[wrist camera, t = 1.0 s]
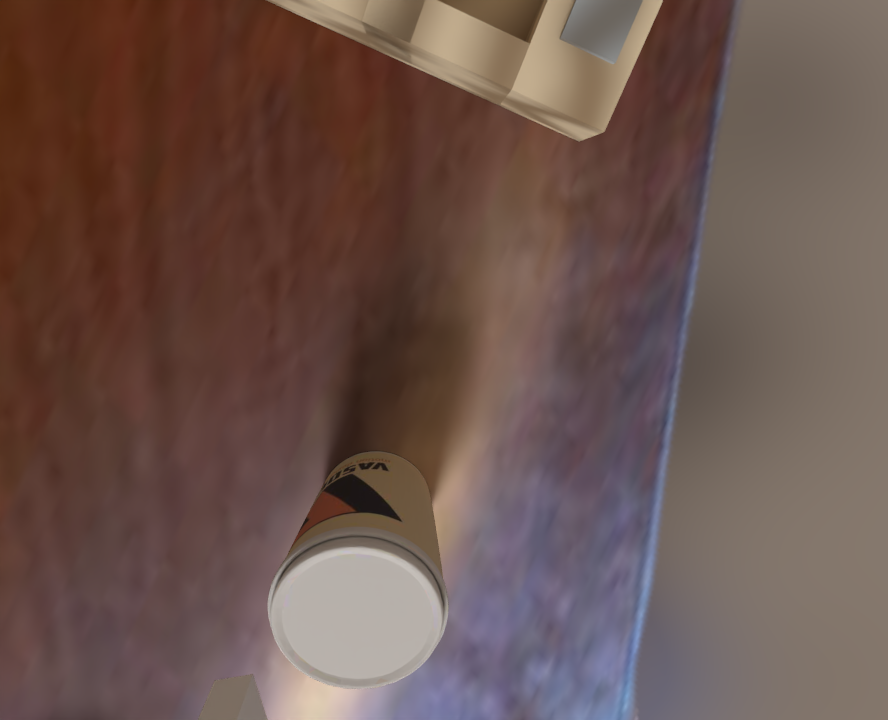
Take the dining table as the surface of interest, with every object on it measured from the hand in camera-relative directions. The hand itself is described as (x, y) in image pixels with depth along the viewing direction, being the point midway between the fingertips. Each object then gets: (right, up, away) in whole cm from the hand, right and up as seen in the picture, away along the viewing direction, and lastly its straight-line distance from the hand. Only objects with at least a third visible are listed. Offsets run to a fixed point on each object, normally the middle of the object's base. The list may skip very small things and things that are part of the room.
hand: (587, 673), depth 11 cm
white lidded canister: (-8, -4, +29) cm, 30 cm away
